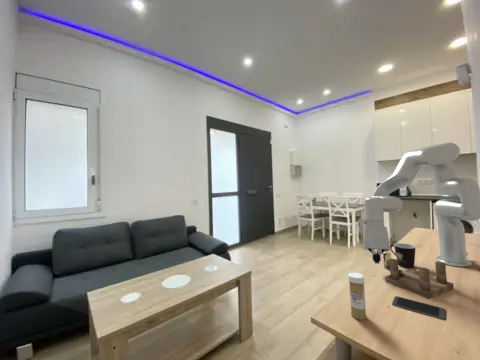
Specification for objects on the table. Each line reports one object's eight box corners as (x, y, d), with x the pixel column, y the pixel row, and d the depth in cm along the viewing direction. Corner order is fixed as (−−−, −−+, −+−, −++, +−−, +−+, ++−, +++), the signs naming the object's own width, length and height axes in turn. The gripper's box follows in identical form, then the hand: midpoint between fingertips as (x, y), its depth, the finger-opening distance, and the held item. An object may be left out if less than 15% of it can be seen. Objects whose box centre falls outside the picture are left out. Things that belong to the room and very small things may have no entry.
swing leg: (382, 267, 103) (381, 252, 103) (388, 267, 103) (387, 251, 103) (398, 276, 93) (397, 259, 93) (405, 276, 93) (403, 259, 93)
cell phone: (445, 322, 67) (445, 319, 67) (391, 306, 77) (391, 304, 77) (446, 310, 72) (445, 308, 72) (395, 297, 82) (394, 295, 82)
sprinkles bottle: (349, 317, 71) (346, 275, 72) (352, 310, 75) (350, 271, 75) (365, 322, 69) (362, 279, 69) (368, 314, 72) (365, 274, 72)
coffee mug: (421, 269, 103) (419, 248, 103) (400, 269, 105) (399, 248, 105) (407, 260, 115) (406, 241, 115) (389, 260, 116) (388, 241, 116)
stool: (408, 273, 100) (407, 252, 100) (453, 288, 85) (451, 263, 85) (385, 281, 94) (383, 259, 94) (429, 299, 79) (427, 272, 79)
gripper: (357, 224, 102) (359, 263, 102) (395, 225, 96) (398, 267, 96) (356, 221, 109) (357, 258, 109) (391, 222, 103) (393, 261, 103)
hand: (376, 262), depth 102 cm, fingers closed
